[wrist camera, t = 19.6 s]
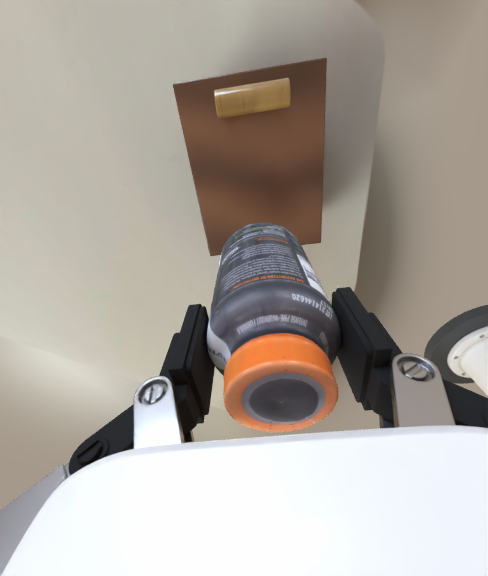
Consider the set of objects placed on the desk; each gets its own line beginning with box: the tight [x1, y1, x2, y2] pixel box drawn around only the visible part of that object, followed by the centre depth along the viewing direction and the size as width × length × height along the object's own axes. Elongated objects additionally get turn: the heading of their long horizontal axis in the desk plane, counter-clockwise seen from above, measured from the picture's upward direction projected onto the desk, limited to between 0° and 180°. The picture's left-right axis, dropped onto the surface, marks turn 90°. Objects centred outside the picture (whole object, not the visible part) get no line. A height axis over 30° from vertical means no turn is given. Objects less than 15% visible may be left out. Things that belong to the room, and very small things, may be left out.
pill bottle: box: [207, 223, 341, 432], centre depth 13 cm, size 6×6×11 cm
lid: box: [173, 58, 327, 256], centre depth 21 cm, size 14×12×4 cm
